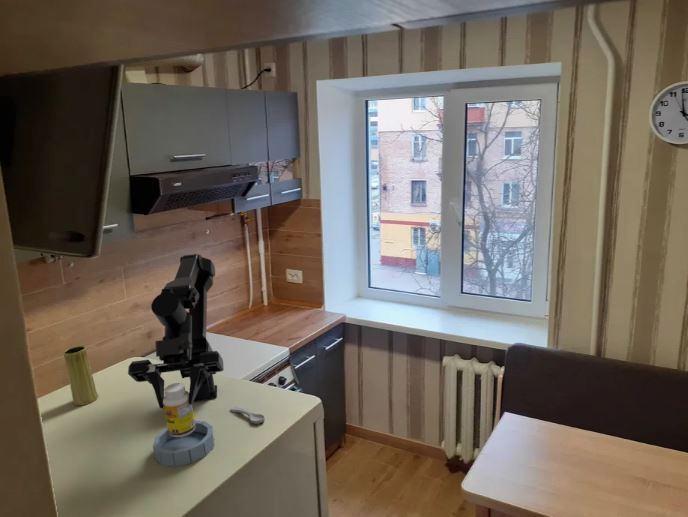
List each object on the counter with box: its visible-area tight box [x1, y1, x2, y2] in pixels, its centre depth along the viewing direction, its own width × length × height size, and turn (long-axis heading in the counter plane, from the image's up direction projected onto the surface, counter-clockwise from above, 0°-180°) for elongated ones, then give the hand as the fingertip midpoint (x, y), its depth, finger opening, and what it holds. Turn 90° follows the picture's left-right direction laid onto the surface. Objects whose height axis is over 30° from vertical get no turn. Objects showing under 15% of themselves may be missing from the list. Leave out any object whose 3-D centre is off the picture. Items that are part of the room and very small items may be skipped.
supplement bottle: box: [163, 382, 196, 437], centre depth 109 cm, size 6×6×10 cm
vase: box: [63, 345, 99, 406], centre depth 136 cm, size 6×6×14 cm
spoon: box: [229, 405, 266, 425], centre depth 122 cm, size 3×12×2 cm, turn 46°
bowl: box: [152, 420, 216, 467], centre depth 110 cm, size 12×12×3 cm
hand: (175, 406), depth 107 cm, fingers closed on supplement bottle, 6 cm apart
